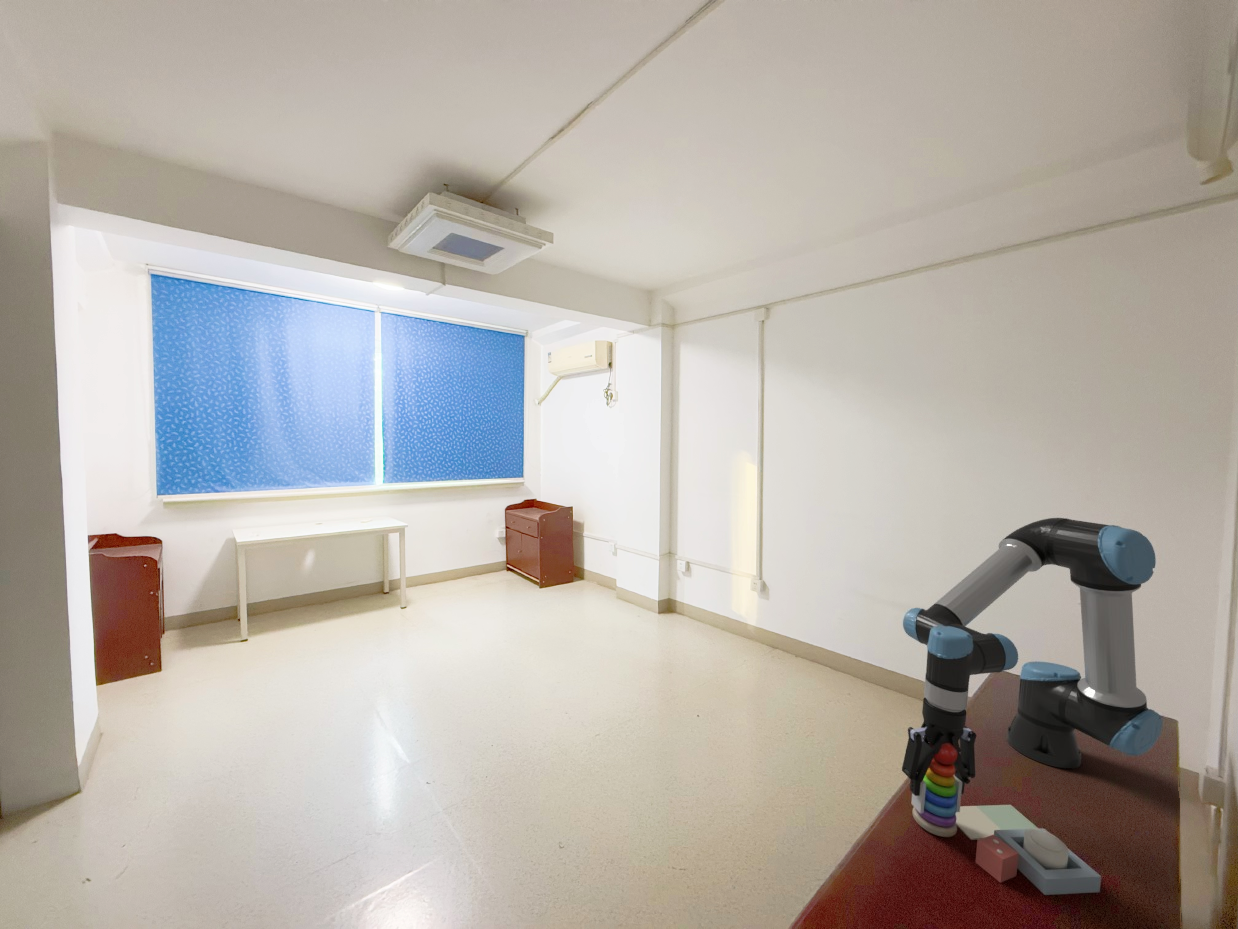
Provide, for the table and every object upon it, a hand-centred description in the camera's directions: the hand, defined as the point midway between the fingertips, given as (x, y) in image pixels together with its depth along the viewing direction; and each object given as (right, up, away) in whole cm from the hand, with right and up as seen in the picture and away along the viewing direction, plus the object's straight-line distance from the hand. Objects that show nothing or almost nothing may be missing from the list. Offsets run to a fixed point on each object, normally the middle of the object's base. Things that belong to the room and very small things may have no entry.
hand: (935, 807), depth 104 cm
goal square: (+17, -4, +2) cm, 18 cm away
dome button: (+15, -4, -9) cm, 18 cm away
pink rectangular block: (+5, -5, -10) cm, 12 cm away
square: (+9, -4, +1) cm, 10 cm away
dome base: (+15, -5, -9) cm, 18 cm away
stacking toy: (0, -4, 0) cm, 4 cm away
